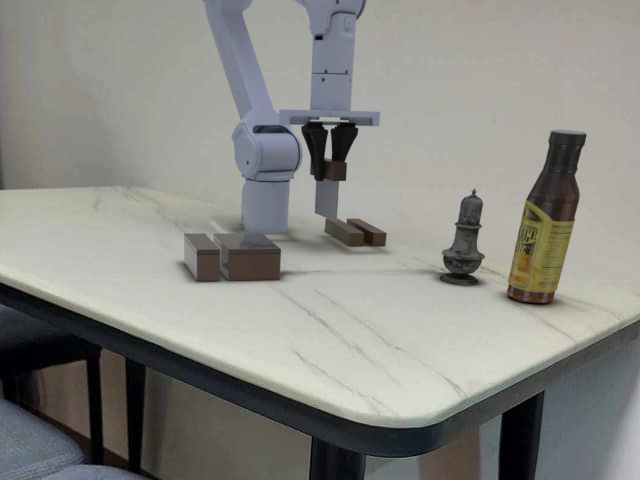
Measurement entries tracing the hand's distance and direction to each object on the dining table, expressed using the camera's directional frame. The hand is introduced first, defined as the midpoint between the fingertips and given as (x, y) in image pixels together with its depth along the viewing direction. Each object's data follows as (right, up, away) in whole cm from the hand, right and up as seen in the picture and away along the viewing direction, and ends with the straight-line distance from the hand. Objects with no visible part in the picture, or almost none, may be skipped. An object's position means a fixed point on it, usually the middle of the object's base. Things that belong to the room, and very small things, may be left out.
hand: (326, 180), depth 107 cm
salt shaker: (+18, -16, -5) cm, 25 cm away
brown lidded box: (-12, -15, -7) cm, 21 cm away
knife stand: (+5, -5, +12) cm, 14 cm away
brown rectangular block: (-18, -16, -9) cm, 25 cm away
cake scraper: (0, -5, +2) cm, 5 cm away
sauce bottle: (+26, -21, -12) cm, 35 cm away
